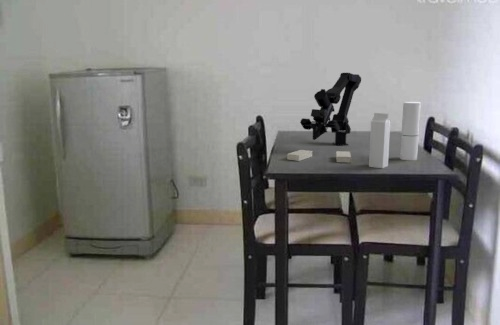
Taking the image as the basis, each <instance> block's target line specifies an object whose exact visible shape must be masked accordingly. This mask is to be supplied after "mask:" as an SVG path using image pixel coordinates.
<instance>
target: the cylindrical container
mask: <svg viewBox="0 0 500 325" xmlns="http://www.w3.org/2000/svg"><path fill="white" fill-rule="evenodd" d="M421 104H422V102H420V101H403V104H402V105H403V106H402V121H401V123H402V124H401V138H400V151H399V153H400V154H399V159H400V160H403V161H417V160H418V152H419V151H418V149H419V148H418V147H419V136H420V134H419V133H420V132H419V130H420V119H421V109H422V108H421V106H422V105H421Z"/></svg>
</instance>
